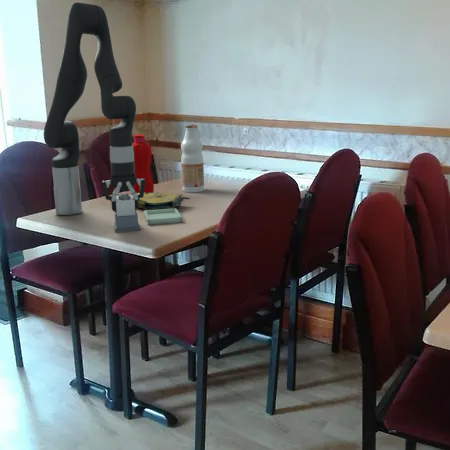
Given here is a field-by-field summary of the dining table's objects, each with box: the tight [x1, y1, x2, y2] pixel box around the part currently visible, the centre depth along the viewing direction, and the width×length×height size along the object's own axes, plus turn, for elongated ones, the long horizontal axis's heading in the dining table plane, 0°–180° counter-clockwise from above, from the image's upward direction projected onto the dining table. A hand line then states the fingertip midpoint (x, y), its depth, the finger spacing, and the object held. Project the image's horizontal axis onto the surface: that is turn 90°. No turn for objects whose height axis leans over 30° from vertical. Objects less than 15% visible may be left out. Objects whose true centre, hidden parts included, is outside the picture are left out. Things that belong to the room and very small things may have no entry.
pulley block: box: [110, 192, 191, 211], centre depth 217 cm, size 14×6×30 cm
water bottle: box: [130, 133, 157, 195], centre depth 237 cm, size 9×11×25 cm
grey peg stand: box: [113, 192, 141, 233], centre depth 187 cm, size 8×8×12 cm
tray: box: [143, 207, 183, 226], centre depth 199 cm, size 12×14×2 cm
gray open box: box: [115, 194, 135, 216], centre depth 186 cm, size 6×8×5 cm
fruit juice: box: [180, 124, 205, 194], centre depth 243 cm, size 9×9×28 cm
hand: (125, 211), depth 187 cm, fingers closed on gray open box, 5 cm apart
